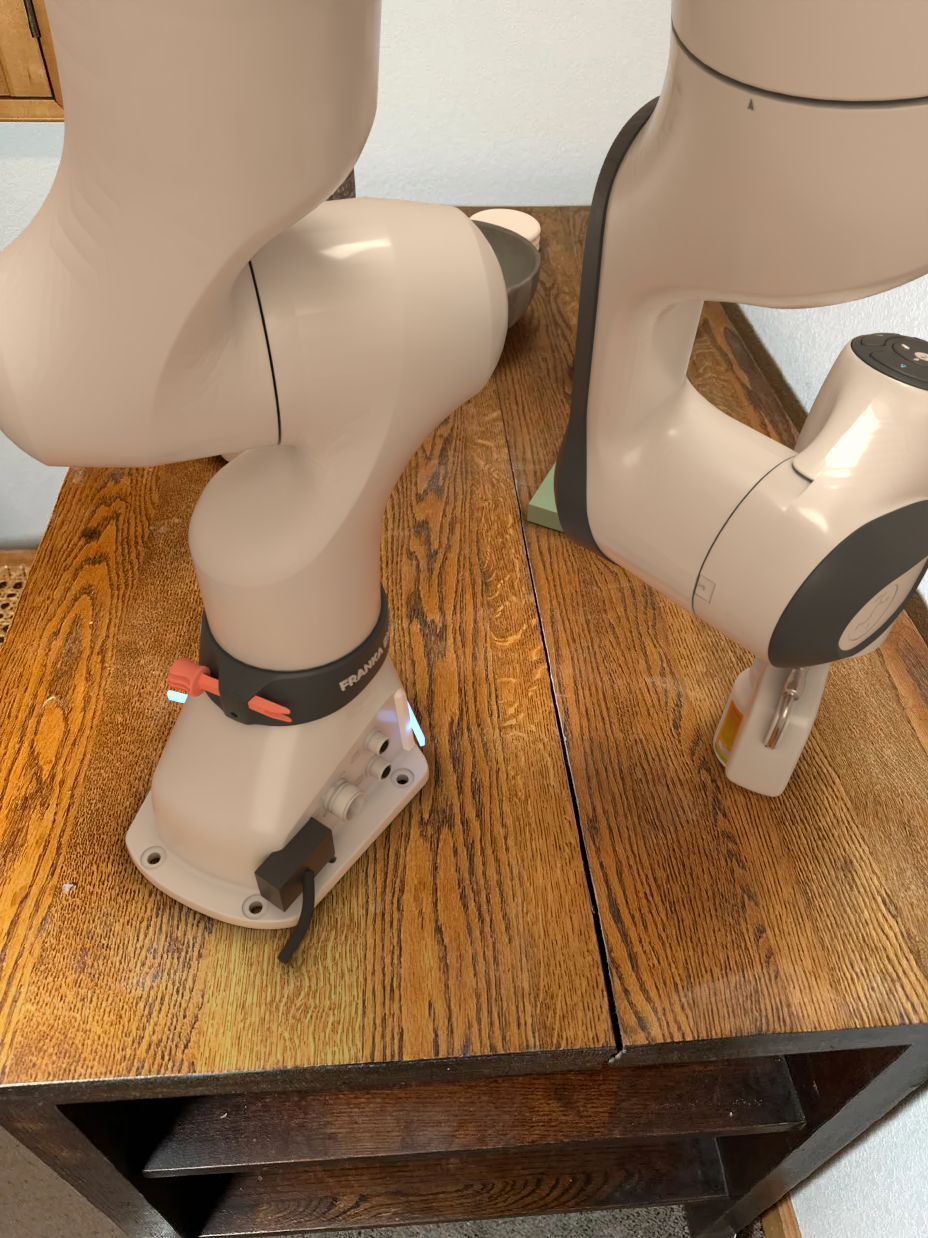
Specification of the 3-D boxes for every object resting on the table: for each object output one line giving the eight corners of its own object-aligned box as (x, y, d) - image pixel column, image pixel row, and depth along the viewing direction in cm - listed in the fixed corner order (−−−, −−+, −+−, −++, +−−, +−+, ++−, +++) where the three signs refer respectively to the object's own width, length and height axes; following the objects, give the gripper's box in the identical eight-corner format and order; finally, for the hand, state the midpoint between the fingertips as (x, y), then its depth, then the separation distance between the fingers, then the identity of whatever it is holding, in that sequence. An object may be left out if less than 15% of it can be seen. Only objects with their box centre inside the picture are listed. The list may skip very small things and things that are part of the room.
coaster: (551, 245, 127) (554, 219, 124) (515, 273, 121) (517, 247, 118) (488, 225, 130) (490, 200, 128) (450, 252, 124) (450, 226, 122)
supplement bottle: (785, 788, 68) (826, 706, 61) (710, 774, 69) (743, 692, 62) (783, 729, 72) (821, 646, 65) (712, 717, 72) (743, 633, 65)
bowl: (463, 276, 120) (465, 197, 113) (569, 345, 109) (579, 263, 102) (329, 321, 111) (323, 239, 104) (430, 402, 101) (430, 316, 93)
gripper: (847, 730, 49) (776, 860, 59) (902, 508, 62) (836, 646, 72) (730, 688, 51) (681, 821, 61) (806, 481, 64) (755, 619, 74)
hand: (765, 725), depth 67 cm, fingers open, 8 cm apart
